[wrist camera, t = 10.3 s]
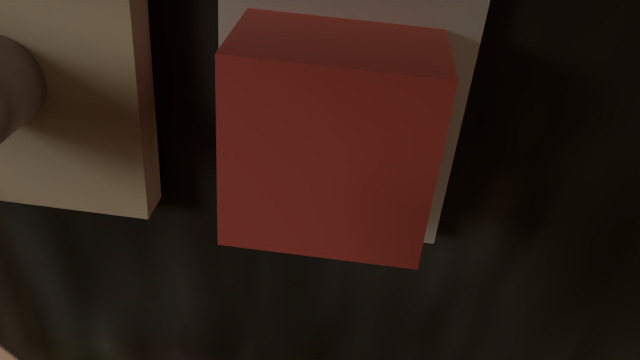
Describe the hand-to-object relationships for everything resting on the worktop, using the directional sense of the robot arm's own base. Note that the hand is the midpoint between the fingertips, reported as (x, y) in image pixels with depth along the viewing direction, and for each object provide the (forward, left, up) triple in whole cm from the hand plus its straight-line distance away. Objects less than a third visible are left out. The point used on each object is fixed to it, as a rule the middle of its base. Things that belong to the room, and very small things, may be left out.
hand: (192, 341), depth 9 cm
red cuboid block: (+2, +1, -12) cm, 12 cm away
